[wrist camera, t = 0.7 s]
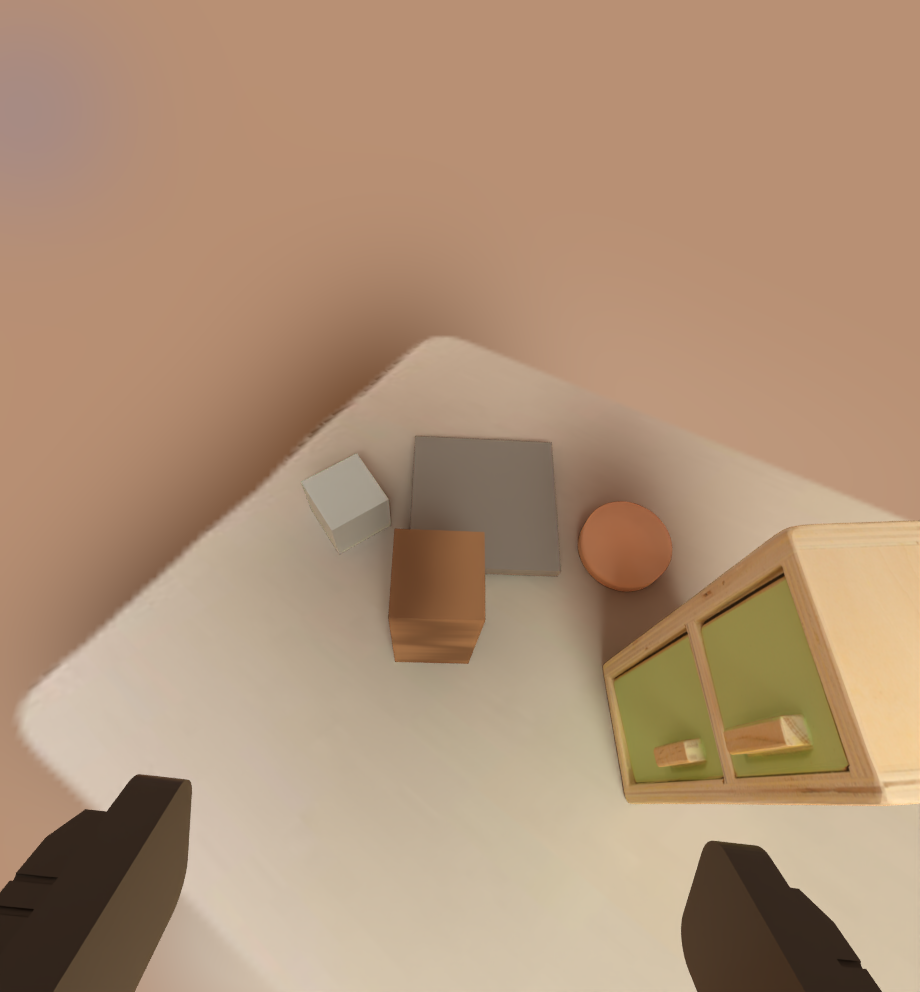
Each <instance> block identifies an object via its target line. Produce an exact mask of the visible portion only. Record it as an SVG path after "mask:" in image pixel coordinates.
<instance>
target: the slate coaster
mask: <svg viewBox="0 0 920 992" xmlns="http://www.w3.org/2000/svg"><path fill="white" fill-rule="evenodd" d="M410 529H418V530H444V531H470V532H485V574H503V575H532V576H558V575H559V573H560V572H561V566H560V552H559V538H558V524H557V510H556V496H555V482H554V469H553V455H552V442H532V441H511V440H490V439H469V438H448V437H427V436H415V452H414V470H413V488H412V505H411V523H410Z"/></svg>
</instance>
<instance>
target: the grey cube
mask: <svg viewBox="0 0 920 992" xmlns="http://www.w3.org/2000/svg"><path fill="white" fill-rule="evenodd" d="M301 483H302V486H303V489H304V492H305V494H306V497H307V500H308V502H309V505H310V508H311V510H312V512H313V513H314V515H315V516H316V518H317V520H318V521H319V523H320V524H321V526H322V528H323V529H324V531H325V532H326V534H327V536H328V537H329V539H330V540H331V542H332V544H333V545H334V547H335V548H336V550H337V552H338V553H339V555H340V554H341V553H343V552H345V551H347V550H348V549H350V548H352V547H354V546H355V545H357V544H359V543H361V542H362V541H364V540H366V539H368V538H369V537H371V536H373V535H375V534H376V533H378V532H380V531H382V530H383V529H385V528H387V527H389V526H390V525H391V519H390V508H389V499H388V498H387V496H386V495H385V493H384V492H383V490H382V489H381V487H380V486H379V485H378V483H377V482H376V480H375V479H374V477H373V476H372V474H371V473H370V472H369V470H368V469H367V467H366V466H365V464H364V463H363V461H362V460H361V459H360V457H359V456H358V454H357V453H356V454H354V455H352V456H350V457H348V458H346V459H344V460H342V461H340V462H338V463H336V464H335V465H333V466H331V467H329V468H327V469H325V470H323V471H321V472H319V473H317V474H315V475H313V476H311V477H309V478H307V479H305V480H303V481H301Z"/></svg>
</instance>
